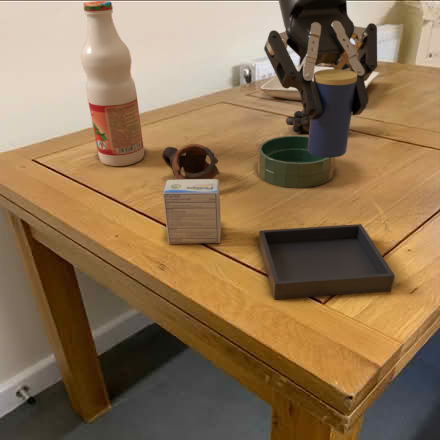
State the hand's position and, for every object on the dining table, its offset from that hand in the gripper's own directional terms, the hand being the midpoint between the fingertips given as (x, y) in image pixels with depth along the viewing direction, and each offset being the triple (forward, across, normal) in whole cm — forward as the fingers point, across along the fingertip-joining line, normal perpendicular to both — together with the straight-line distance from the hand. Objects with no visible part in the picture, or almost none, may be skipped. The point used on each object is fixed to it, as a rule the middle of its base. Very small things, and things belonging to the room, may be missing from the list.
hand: (338, 113), depth 54 cm
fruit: (-19, +21, +48) cm, 56 cm away
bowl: (-5, +7, +34) cm, 35 cm away
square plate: (-41, +35, +70) cm, 89 cm away
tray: (+16, -1, +12) cm, 20 cm away
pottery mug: (-7, -13, +36) cm, 39 cm away
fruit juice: (-18, -24, +47) cm, 56 cm away
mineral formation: (-59, +54, +88) cm, 119 cm away
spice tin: (+2, 0, +5) cm, 5 cm away
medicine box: (+7, -16, +22) cm, 28 cm away
